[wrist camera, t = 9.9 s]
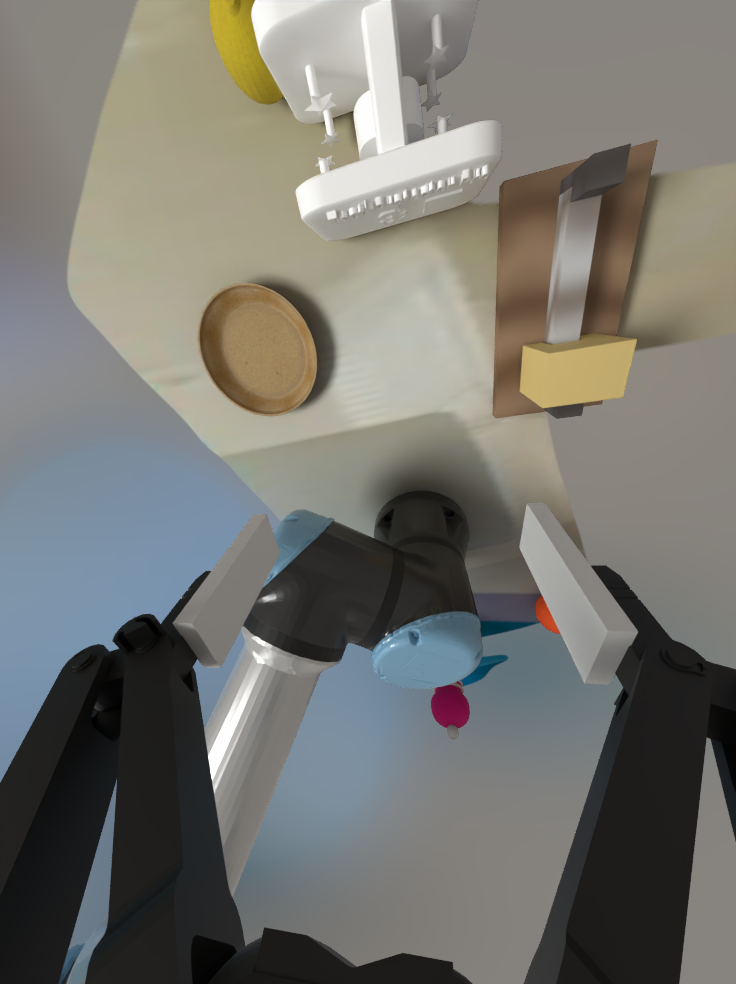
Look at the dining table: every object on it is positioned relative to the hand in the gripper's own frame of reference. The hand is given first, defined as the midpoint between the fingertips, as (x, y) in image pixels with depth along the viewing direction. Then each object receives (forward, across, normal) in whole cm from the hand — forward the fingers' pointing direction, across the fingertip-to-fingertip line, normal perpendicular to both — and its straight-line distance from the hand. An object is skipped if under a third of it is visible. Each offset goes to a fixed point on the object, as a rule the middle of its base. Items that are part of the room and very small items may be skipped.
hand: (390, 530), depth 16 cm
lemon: (+28, +9, -29) cm, 41 cm away
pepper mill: (+28, -5, +46) cm, 54 cm away
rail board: (+28, -17, -8) cm, 34 cm away
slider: (+26, -18, -2) cm, 31 cm away
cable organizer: (+28, -1, -22) cm, 36 cm away
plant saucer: (+28, +17, -7) cm, 34 cm away
